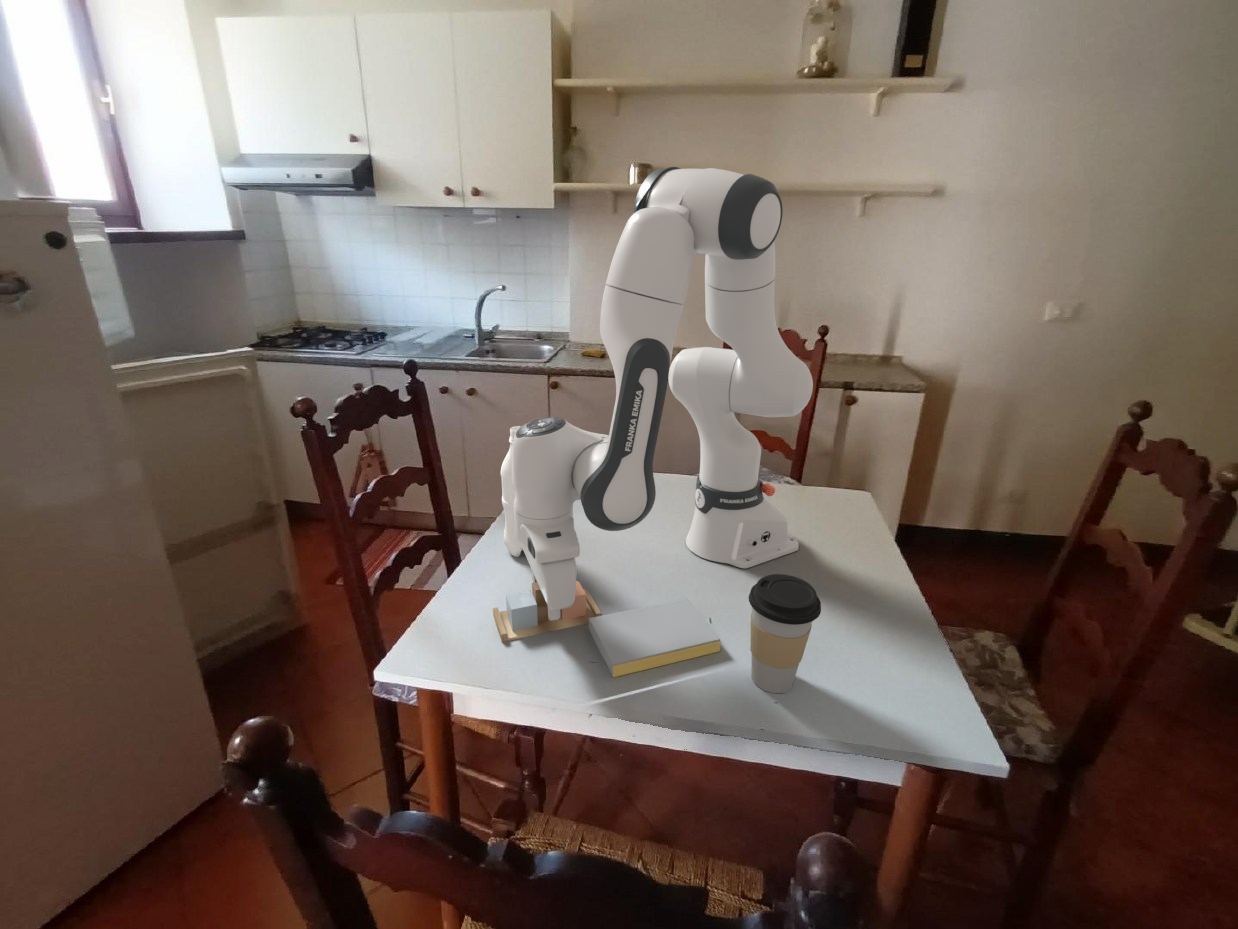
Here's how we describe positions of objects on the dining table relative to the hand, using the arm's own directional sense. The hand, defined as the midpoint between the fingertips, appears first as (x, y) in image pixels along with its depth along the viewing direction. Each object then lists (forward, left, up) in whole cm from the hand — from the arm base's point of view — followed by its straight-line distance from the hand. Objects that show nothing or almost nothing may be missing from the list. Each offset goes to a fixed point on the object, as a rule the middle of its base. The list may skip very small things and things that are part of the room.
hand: (546, 600), depth 96 cm
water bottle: (-1, -22, -4) cm, 22 cm away
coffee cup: (-27, +24, -4) cm, 36 cm away
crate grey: (+4, 0, -3) cm, 5 cm away
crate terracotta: (-4, 0, -3) cm, 5 cm away
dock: (-14, +11, -3) cm, 18 cm away
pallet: (0, 0, -4) cm, 4 cm away
